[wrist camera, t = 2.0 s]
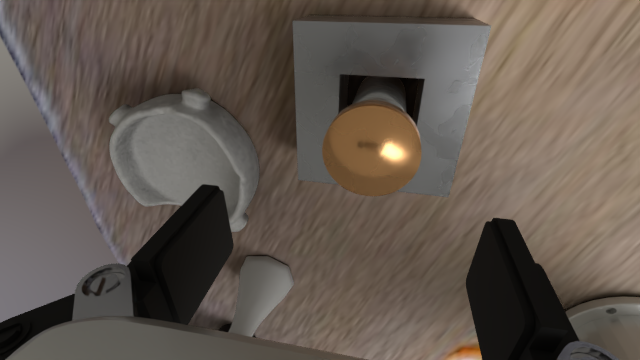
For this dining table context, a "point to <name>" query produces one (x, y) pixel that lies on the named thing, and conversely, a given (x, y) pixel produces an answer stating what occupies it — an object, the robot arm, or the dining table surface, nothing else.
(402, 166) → the pin
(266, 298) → the flask
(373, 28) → the gray square-hole block
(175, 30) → the dining table surface
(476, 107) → the dining table surface
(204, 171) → the dish
